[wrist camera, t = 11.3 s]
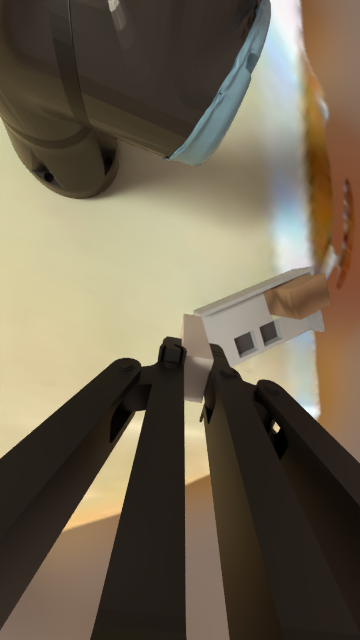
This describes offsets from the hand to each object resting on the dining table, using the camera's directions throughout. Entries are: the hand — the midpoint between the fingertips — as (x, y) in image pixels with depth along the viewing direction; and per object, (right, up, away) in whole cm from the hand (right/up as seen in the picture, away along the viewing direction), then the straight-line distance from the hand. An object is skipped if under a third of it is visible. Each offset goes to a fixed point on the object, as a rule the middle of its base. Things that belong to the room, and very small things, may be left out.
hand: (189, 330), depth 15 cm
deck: (+16, +1, +27) cm, 31 cm away
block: (+21, +6, +25) cm, 33 cm away
